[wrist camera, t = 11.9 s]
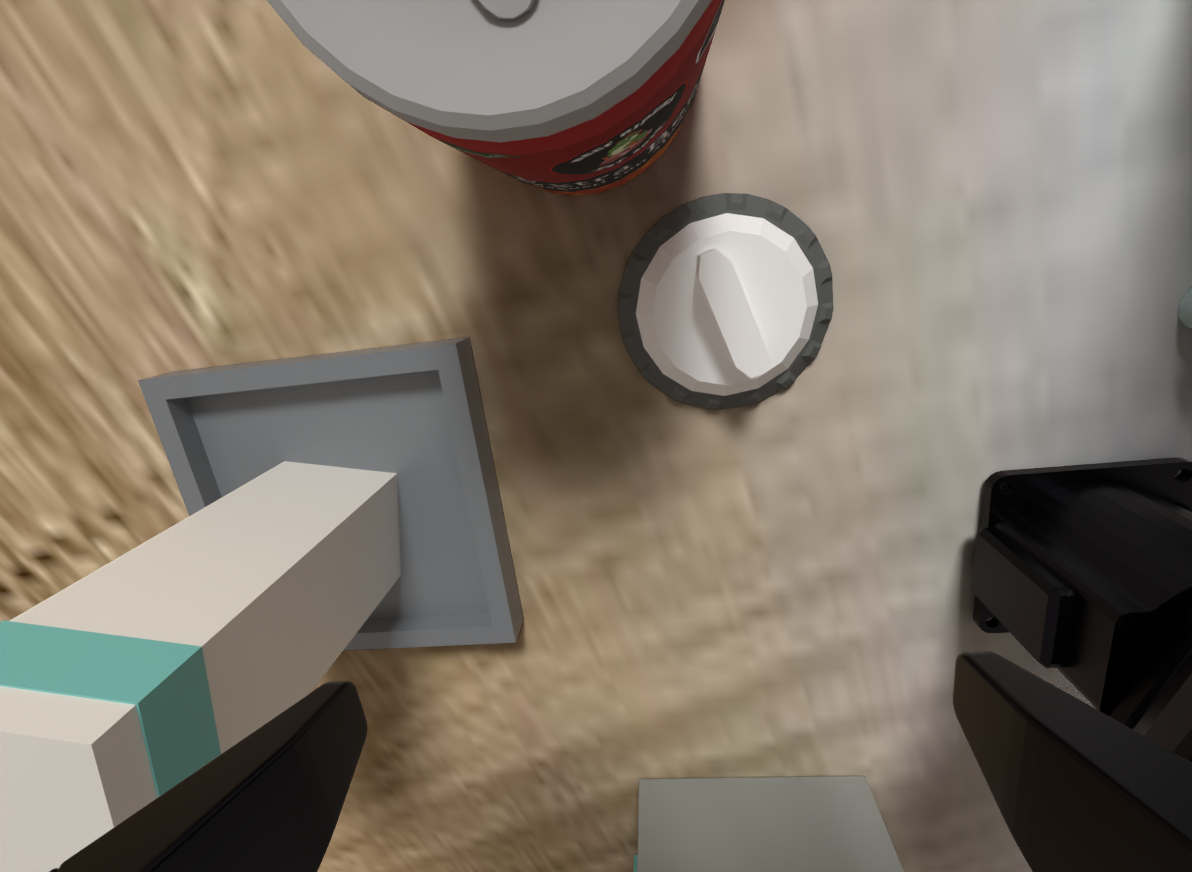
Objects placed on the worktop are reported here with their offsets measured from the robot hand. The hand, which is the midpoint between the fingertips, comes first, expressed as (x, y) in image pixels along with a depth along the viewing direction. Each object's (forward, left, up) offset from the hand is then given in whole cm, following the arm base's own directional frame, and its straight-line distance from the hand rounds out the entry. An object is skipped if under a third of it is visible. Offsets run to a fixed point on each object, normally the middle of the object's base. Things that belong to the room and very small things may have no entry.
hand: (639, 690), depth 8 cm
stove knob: (-3, -4, -14) cm, 15 cm away
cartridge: (+12, +3, -12) cm, 18 cm away
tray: (+12, +2, -13) cm, 18 cm away
